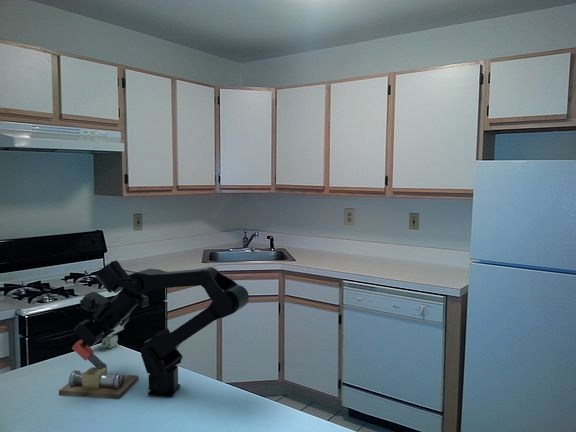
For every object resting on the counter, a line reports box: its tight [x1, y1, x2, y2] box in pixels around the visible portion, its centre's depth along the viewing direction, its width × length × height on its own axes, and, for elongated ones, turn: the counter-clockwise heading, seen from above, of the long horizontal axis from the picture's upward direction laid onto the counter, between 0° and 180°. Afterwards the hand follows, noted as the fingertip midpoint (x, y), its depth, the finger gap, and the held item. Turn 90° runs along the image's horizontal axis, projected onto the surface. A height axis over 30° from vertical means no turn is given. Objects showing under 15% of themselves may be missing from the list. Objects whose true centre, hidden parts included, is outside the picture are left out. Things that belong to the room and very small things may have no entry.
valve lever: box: [71, 339, 108, 369], centre depth 120 cm, size 2×2×11 cm
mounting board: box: [58, 371, 140, 400], centre depth 118 cm, size 16×11×1 cm
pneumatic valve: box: [92, 319, 126, 349], centre depth 147 cm, size 6×12×12 cm, turn 161°
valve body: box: [68, 366, 125, 390], centre depth 116 cm, size 13×4×4 cm, turn 84°
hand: (83, 343), depth 120 cm, fingers closed, pressing on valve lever
